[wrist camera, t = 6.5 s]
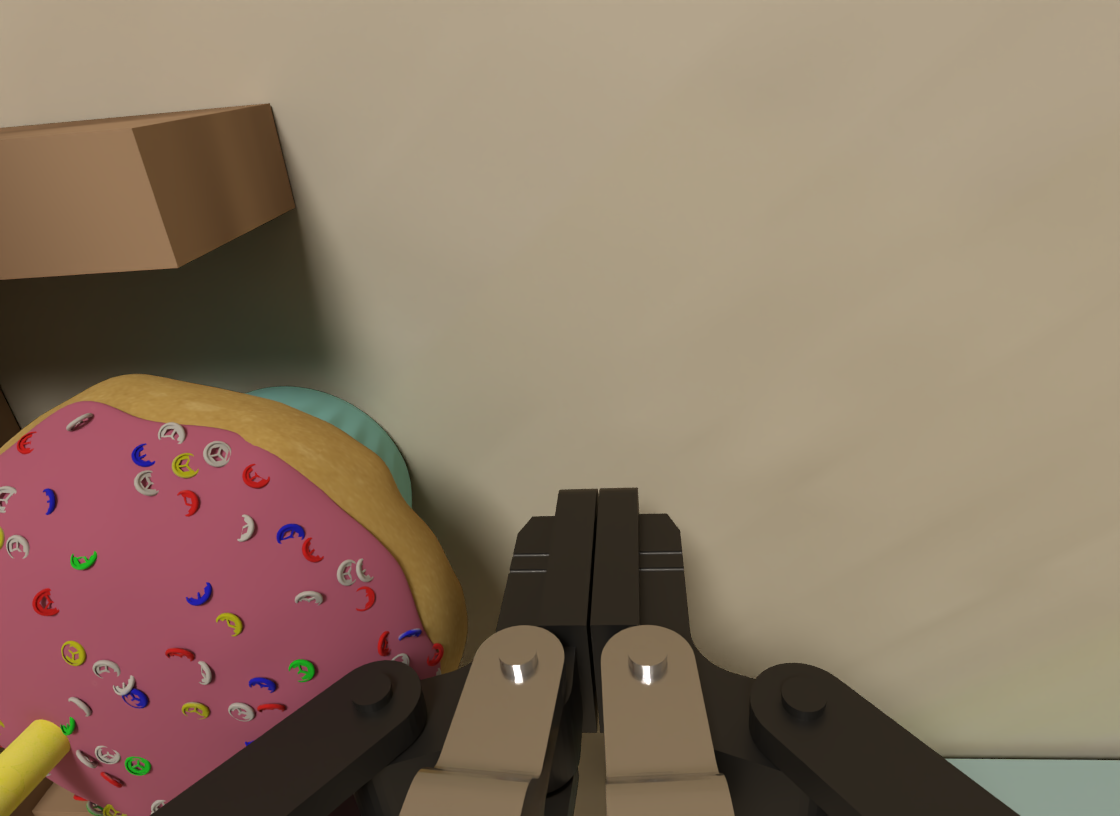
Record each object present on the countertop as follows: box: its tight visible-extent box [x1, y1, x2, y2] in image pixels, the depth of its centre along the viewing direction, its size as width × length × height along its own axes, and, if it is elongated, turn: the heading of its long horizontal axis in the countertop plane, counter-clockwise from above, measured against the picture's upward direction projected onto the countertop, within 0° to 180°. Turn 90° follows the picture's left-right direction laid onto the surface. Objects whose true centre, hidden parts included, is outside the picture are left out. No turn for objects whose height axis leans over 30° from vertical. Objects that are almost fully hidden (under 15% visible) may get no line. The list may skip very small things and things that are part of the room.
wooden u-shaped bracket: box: [0, 103, 295, 816], centre depth 14 cm, size 9×17×5 cm, turn 5°
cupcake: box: [0, 374, 468, 816], centre depth 11 cm, size 9×8×12 cm
